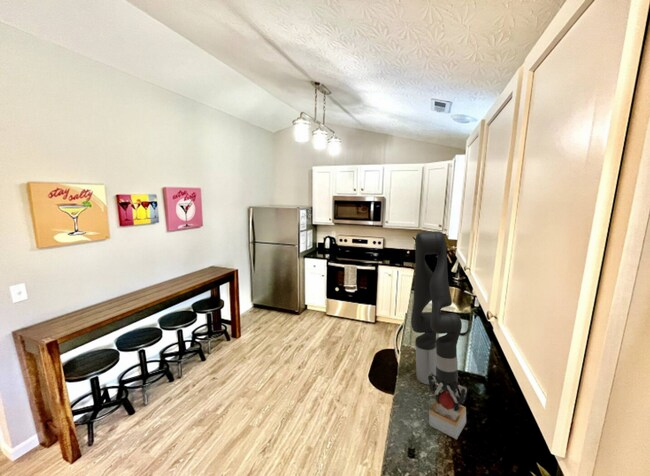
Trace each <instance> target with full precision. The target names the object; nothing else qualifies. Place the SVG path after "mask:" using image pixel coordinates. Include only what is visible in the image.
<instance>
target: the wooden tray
mask: <svg viewBox="0 0 650 476" xmlns="http://www.w3.org/2000/svg"><path fill="white" fill-rule="evenodd" d="M428 415H429V416H428V417H429V423H428V424H429V426H430V427H432V428H434V429H436V430H437V431H439V432H441V433H443V434H446V435H447V436H449V437H451V438H453V439H455V440H458V438H459V436H460V434H461V433H462V431H463V429H464V427H465V426H466V425H467V407H466V406H464V405H462V404H460V408H459V410H458V411H457V412H456V411H454V408H452V409H449V410H447V409H446V408H444V407H443V406H442V405H441V404H438V403H437V401H436V400H435V402H434V403H433V404H432V406H430V408H429V410H428Z"/></svg>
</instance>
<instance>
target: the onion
mask: <svg viewBox="0 0 650 476" xmlns="http://www.w3.org/2000/svg"><path fill="white" fill-rule="evenodd" d="M439 402H440V404H441V405H442V406H443V407H444V408H446V409H447V410H449V409H452V408H454V399H453V397H451V394H450V393H449V392H447V391H444V390H442V392H441V394H440V395H439Z"/></svg>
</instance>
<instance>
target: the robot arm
mask: <svg viewBox="0 0 650 476" xmlns="http://www.w3.org/2000/svg"><path fill="white" fill-rule="evenodd" d="M414 240H415V242H414V243H415V245H414V246H415V247H414V248H415V249H414V250H415V270H414V281H413V282H414V283H413V306H412V312H411V318H410V319H411V320H410V322H411V328H412V331H413V332H415V333H416V334H417V333H419V334H420V335H418V336H417V337H415V341H414V342H415V367H416V369H415V372H416V373H415V374H416V379H417V381H418V382H419V383H422V384H424V385H429V390H430V391H431V392H434V395H435V401H437V403H438V404H440V402H439V395H440V394H441V393H442V392H441V391H447V392H449V393H450V394H451V397H453V399H454V411H456V412H457V411H458V410H459V408H460V405H462V404H464V403H465V401H466V398H467V392H468V387H467V386H462V385H460V383H459V381H458V380H459V374H458V373H459V371H458V370H459V367H458V365H459V363H458V357H457V356H458V354H457V345H458V341H459V339H460V334H461V332H462V329H463V324H462V319H461V318H460V316H459V315H458V314H457V313H453V312H449V313H448V312H447V313H441V310H442V309H443V308H447V307H451V306H452V304H453V300H452V295H451V291H450V285H449V279H448V278H449V275H448V274H449V273H448V255H447V242H446V237H445V235H444V233H443V232H442V231H439V230H437V231H436V230H435V231H423V232H422V231H421V232H418V233H417V234H416V236H415V239H414ZM426 255H436V256H437V260H436V261H437V262H436V266H435V268H434V270H433V271H432V270H431V269H430V267H429V266H428V263H427V262H426V259H425V257H426ZM429 303H431V311H429V312H428V311H425V312H423V311H424V309H425V308H426V306H428V304H429ZM439 334H440V336H438V337H437V335H439ZM441 334H443V335H441ZM436 383H437V384H436ZM436 385H438V386H436ZM458 390H459V391H458ZM459 393H460V395H459Z"/></svg>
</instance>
